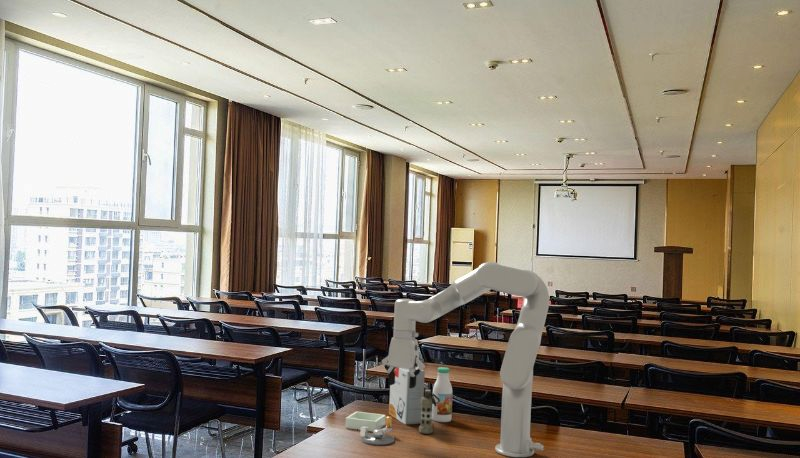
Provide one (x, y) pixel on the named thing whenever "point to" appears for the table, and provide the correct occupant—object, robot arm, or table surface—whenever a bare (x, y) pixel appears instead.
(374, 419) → the tray
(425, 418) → the grenade model
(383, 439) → the crank base
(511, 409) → the robot arm
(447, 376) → the milk bottle
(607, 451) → the table surface
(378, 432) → the crank lever
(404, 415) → the hard drive box
